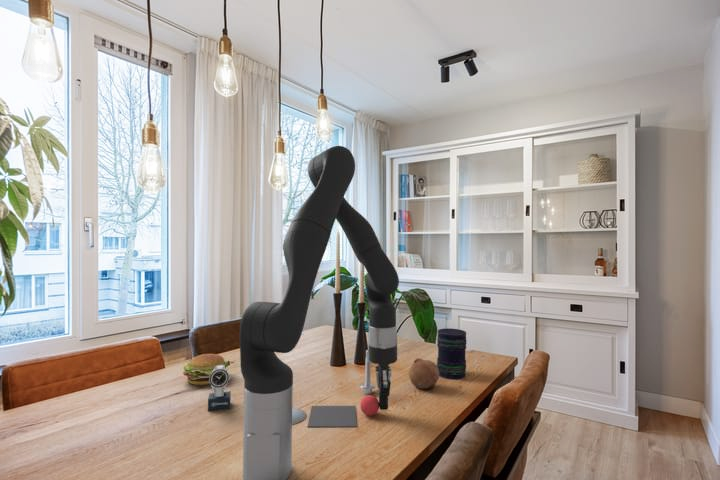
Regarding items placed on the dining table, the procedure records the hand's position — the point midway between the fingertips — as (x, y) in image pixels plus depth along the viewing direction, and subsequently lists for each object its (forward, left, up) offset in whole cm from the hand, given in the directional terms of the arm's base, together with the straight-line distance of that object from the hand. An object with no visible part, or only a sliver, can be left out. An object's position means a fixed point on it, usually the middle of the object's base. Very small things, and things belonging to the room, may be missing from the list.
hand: (383, 408), depth 102 cm
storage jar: (+32, -27, -2) cm, 41 cm away
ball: (0, +4, +1) cm, 4 cm away
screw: (+16, +3, -2) cm, 16 cm away
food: (+27, +55, -2) cm, 61 cm away
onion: (+20, -15, -2) cm, 25 cm away
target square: (0, +13, -2) cm, 13 cm away
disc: (0, +25, -2) cm, 25 cm away
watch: (+6, +44, -2) cm, 45 cm away
